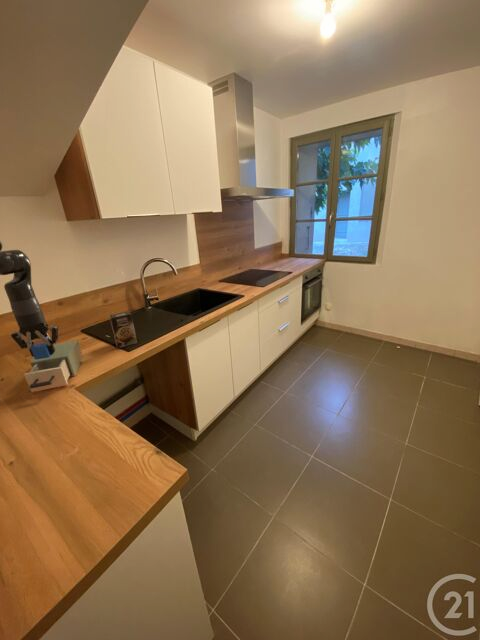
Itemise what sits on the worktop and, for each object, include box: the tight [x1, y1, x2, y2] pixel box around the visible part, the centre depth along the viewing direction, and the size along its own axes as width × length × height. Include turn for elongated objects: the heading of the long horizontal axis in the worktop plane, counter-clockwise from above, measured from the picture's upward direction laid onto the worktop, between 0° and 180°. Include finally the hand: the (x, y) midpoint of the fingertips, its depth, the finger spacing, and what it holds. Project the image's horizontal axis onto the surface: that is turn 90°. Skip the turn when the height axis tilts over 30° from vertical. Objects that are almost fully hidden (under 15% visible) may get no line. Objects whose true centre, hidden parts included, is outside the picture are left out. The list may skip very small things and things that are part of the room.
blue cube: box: [31, 341, 51, 360], centre depth 94 cm, size 4×4×4 cm
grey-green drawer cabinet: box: [29, 340, 84, 378], centre depth 106 cm, size 15×13×9 cm
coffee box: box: [108, 310, 138, 349], centre depth 124 cm, size 9×6×16 cm
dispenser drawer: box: [23, 358, 71, 393], centre depth 97 cm, size 18×11×7 cm, turn 18°
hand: (44, 355), depth 95 cm, fingers closed on blue cube, 4 cm apart
